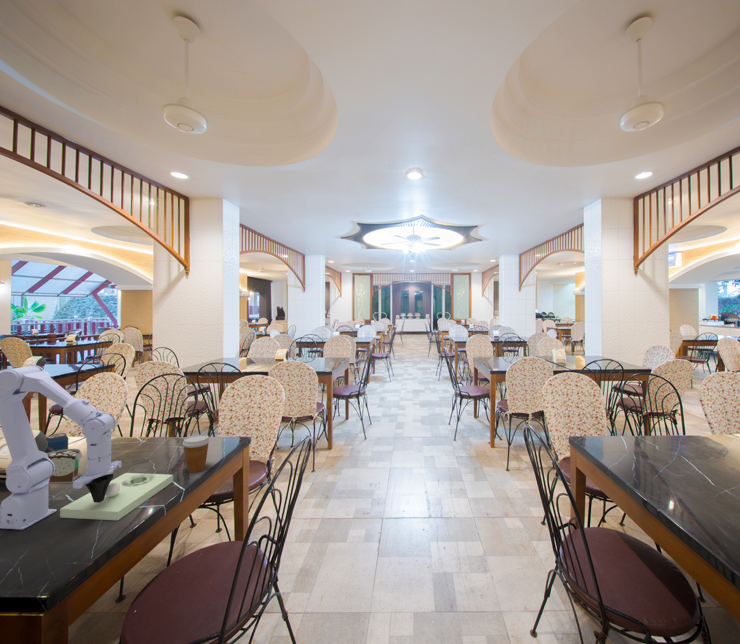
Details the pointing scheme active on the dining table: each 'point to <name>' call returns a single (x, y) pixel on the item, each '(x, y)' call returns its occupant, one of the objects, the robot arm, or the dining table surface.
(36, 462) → the robot arm
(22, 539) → the dining table surface
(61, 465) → the food container
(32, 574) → the dining table surface
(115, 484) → the ball
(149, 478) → the putting deck
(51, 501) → the dining table surface
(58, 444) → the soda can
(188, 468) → the disposable coffee cup
